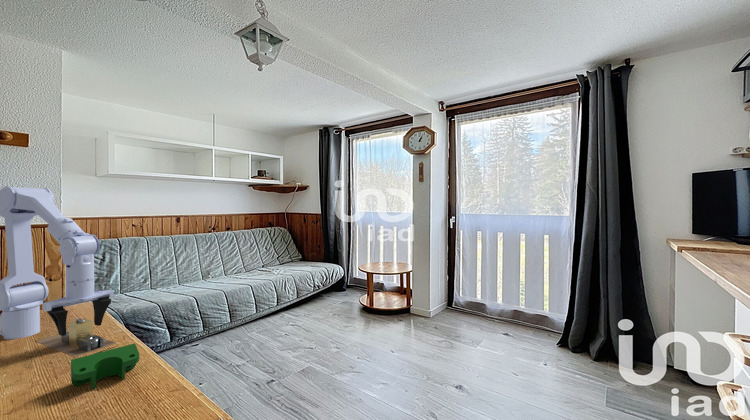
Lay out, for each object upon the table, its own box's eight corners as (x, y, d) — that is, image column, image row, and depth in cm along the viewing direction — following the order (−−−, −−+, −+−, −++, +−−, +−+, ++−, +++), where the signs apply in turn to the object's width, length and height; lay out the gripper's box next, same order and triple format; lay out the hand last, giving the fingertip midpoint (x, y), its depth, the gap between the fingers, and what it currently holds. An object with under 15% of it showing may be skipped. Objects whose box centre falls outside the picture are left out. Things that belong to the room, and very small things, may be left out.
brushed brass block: (69, 344, 87) (68, 320, 87) (85, 340, 90) (84, 316, 90) (76, 347, 85) (76, 322, 85) (92, 342, 88) (92, 318, 88)
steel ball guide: (61, 341, 89) (61, 333, 89) (77, 337, 92) (77, 329, 92) (87, 351, 83) (87, 342, 83) (103, 346, 86) (103, 337, 86)
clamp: (86, 410, 68) (62, 382, 64) (82, 392, 72) (60, 365, 67) (149, 370, 75) (132, 343, 71) (143, 356, 79) (126, 330, 75)
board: (35, 344, 89) (35, 340, 89) (76, 332, 97) (76, 329, 97) (74, 360, 80) (74, 356, 80) (116, 346, 88) (116, 342, 88)
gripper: (51, 287, 79) (52, 342, 79) (119, 276, 92) (119, 323, 92) (38, 284, 82) (39, 337, 82) (105, 273, 95) (106, 319, 95)
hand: (80, 329), depth 87 cm, fingers open, 7 cm apart
